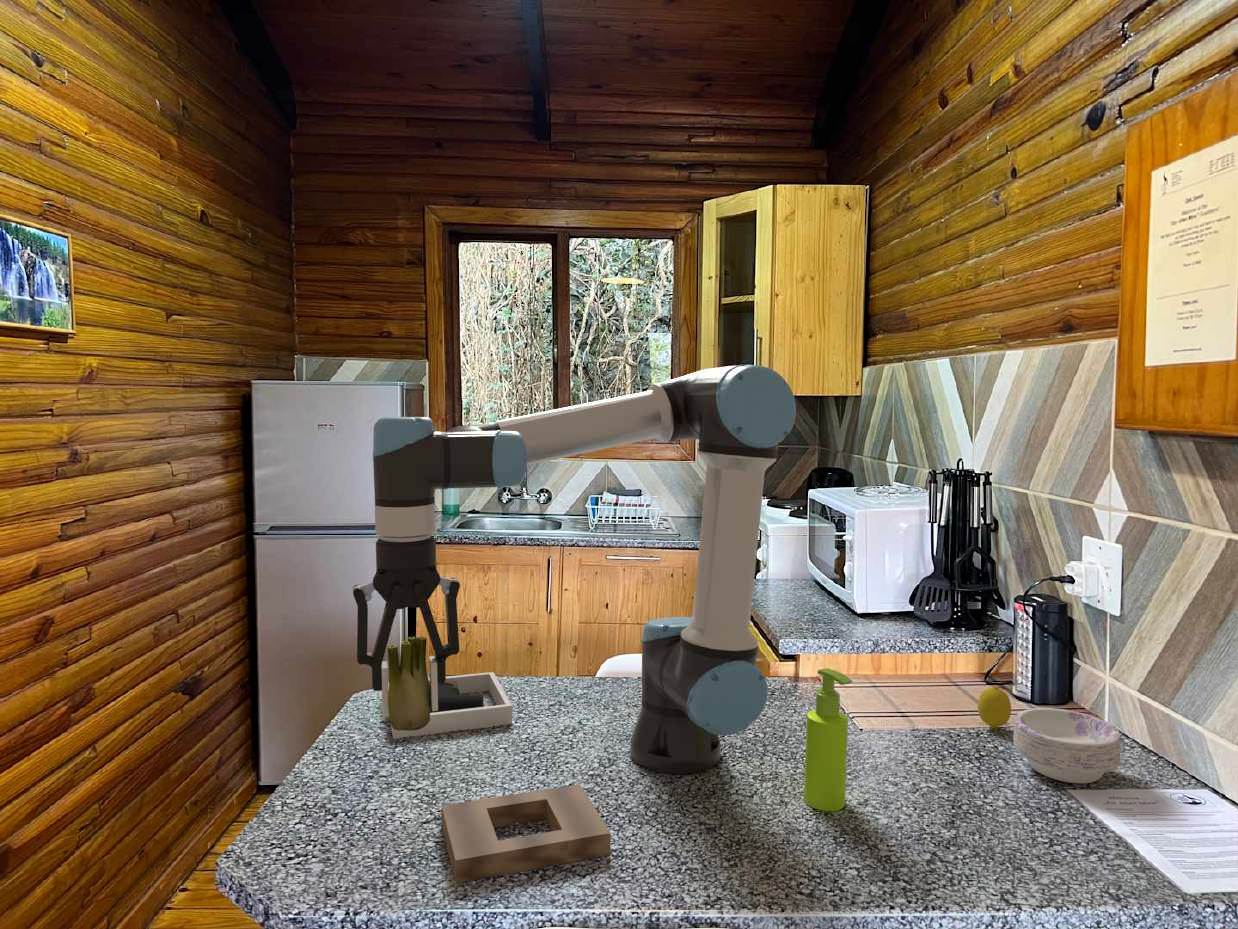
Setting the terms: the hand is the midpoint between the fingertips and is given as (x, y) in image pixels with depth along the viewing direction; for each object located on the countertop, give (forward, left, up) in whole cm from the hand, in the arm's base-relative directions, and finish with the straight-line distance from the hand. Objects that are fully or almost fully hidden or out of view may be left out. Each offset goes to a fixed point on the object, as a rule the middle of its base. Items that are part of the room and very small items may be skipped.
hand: (410, 709), depth 106 cm
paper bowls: (-102, +11, -19) cm, 105 cm away
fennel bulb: (0, 0, -3) cm, 3 cm away
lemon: (-104, -6, -18) cm, 106 cm away
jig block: (-14, +4, -18) cm, 24 cm away
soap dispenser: (-59, +8, -18) cm, 63 cm away
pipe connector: (-10, -43, -19) cm, 48 cm away
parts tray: (-10, -44, -18) cm, 49 cm away
